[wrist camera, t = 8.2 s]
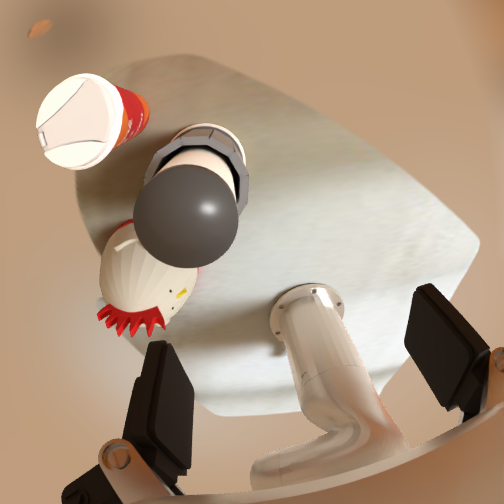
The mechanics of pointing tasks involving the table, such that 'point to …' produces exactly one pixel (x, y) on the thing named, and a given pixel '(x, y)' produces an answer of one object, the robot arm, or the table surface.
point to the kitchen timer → (140, 284)
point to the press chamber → (217, 140)
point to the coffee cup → (88, 120)
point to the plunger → (188, 209)
